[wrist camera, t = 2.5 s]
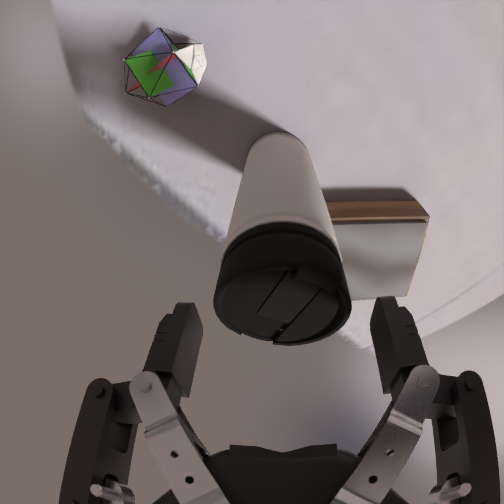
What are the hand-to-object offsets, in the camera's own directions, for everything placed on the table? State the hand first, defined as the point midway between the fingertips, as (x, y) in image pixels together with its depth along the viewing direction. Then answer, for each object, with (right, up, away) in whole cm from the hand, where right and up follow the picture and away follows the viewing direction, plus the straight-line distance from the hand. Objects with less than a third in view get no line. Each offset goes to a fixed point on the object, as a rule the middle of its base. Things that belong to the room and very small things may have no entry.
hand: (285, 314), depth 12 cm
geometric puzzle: (-9, +20, +10) cm, 24 cm away
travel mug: (+1, +12, +16) cm, 20 cm away
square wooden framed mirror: (+12, +4, +21) cm, 24 cm away
